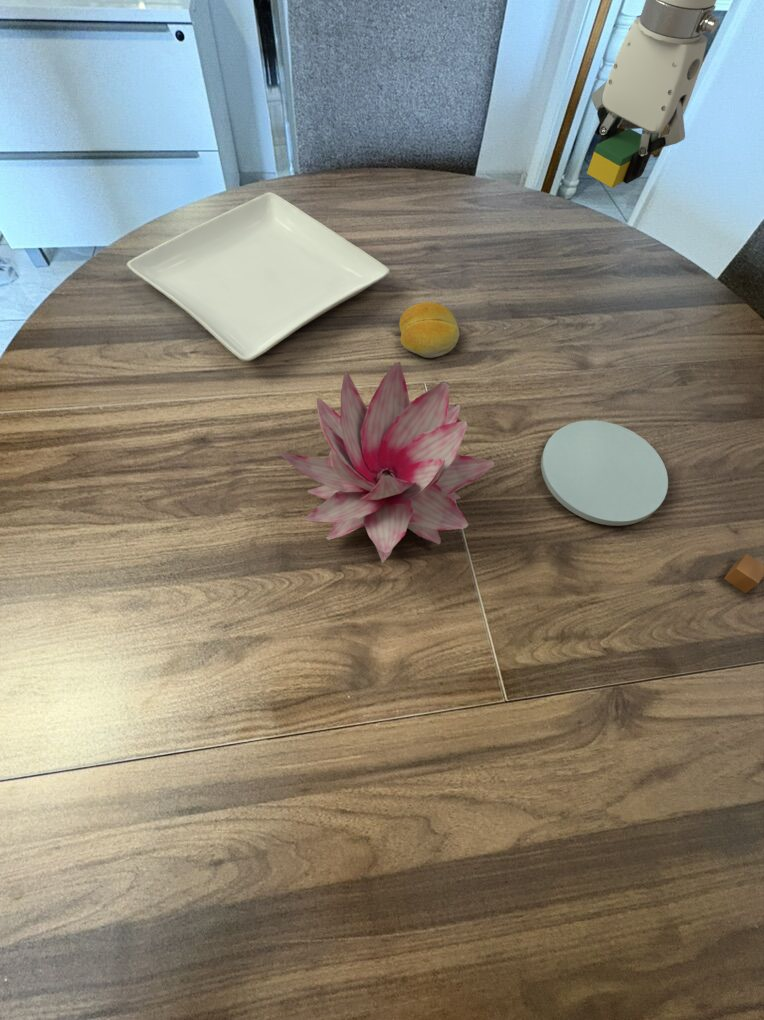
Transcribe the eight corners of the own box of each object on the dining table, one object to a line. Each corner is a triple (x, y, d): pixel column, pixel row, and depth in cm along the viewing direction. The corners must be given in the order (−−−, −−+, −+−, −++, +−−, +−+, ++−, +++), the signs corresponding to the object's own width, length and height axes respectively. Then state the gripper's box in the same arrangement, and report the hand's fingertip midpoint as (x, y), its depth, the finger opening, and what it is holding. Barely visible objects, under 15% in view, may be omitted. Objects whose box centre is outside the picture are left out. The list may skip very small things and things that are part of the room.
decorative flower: (334, 614, 64) (331, 543, 51) (265, 461, 74) (248, 370, 61) (509, 542, 69) (546, 462, 57) (423, 410, 79) (438, 316, 66)
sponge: (618, 156, 89) (629, 127, 86) (643, 170, 88) (655, 141, 84) (586, 173, 87) (596, 144, 83) (611, 188, 85) (623, 159, 82)
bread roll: (402, 361, 84) (404, 338, 80) (397, 316, 89) (399, 293, 85) (461, 360, 84) (466, 338, 81) (453, 316, 89) (458, 293, 86)
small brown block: (746, 553, 67) (769, 567, 66) (733, 564, 69) (755, 578, 68) (736, 568, 66) (758, 583, 65) (723, 578, 68) (745, 593, 67)
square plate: (272, 210, 101) (269, 187, 98) (391, 290, 92) (393, 268, 88) (129, 281, 90) (121, 258, 86) (249, 381, 80) (245, 359, 77)
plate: (590, 410, 81) (594, 402, 79) (686, 483, 75) (693, 475, 74) (514, 468, 75) (517, 460, 74) (612, 551, 69) (617, 544, 68)
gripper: (754, 34, 70) (680, 190, 86) (635, -16, 76) (585, 138, 92) (719, 50, 67) (649, 208, 83) (598, -3, 73) (553, 153, 89)
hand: (616, 170), depth 87 cm, fingers closed on sponge, 4 cm apart
